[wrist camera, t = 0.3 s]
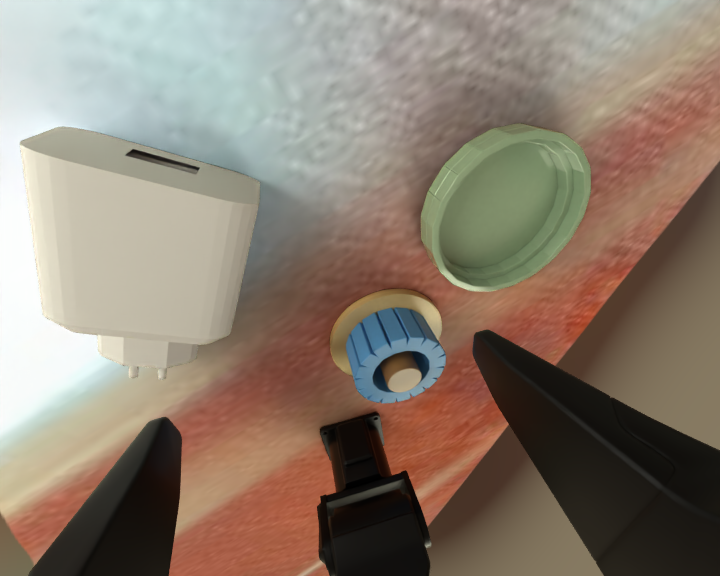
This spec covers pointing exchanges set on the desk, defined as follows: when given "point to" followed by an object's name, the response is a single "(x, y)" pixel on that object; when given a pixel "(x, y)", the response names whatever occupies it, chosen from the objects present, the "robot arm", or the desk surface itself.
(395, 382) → the tape holder
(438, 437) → the desk surface
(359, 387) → the blue gear
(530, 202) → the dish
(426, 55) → the desk surface
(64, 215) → the charger
